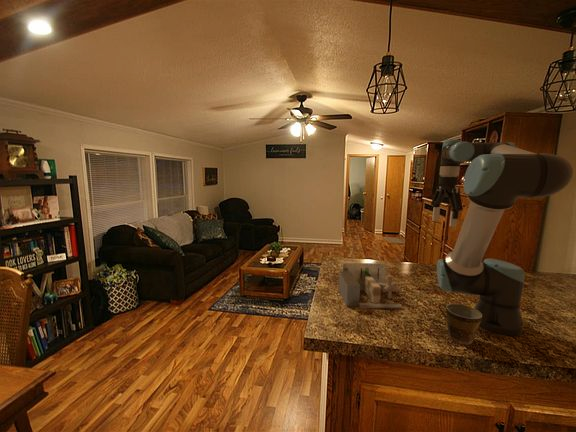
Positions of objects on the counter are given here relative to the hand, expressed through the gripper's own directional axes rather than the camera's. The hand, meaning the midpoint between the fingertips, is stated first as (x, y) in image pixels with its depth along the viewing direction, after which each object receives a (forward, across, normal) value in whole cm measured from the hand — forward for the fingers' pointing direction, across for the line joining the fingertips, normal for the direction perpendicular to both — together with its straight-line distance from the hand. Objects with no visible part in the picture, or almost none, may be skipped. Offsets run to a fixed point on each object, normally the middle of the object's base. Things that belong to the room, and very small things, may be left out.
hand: (443, 223), depth 124 cm
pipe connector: (+32, -10, +26) cm, 43 cm away
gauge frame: (+32, -9, +36) cm, 49 cm away
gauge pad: (+31, -8, +34) cm, 47 cm away
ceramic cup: (+32, -38, +15) cm, 52 cm away
